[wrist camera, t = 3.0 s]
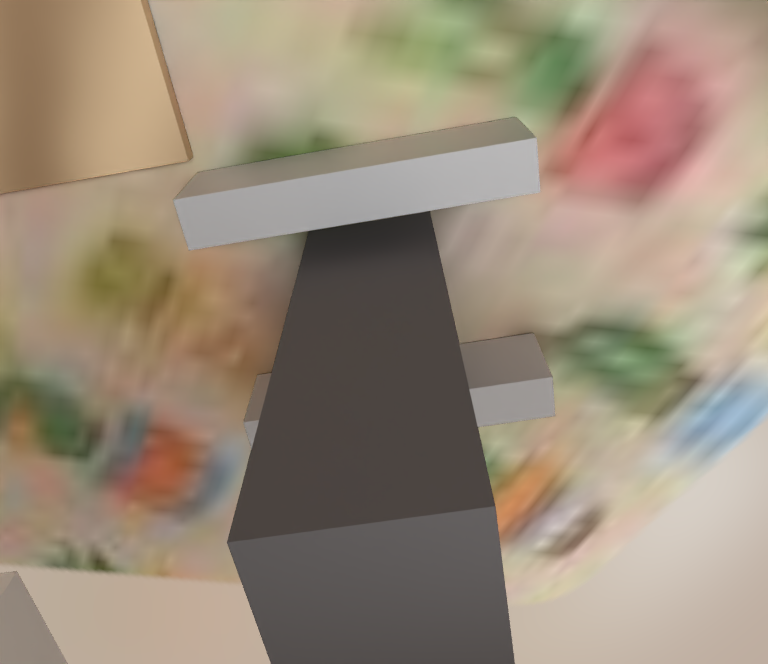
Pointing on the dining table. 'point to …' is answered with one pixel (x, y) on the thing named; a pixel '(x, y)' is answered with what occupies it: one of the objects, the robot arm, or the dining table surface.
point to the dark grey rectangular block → (371, 468)
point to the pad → (83, 93)
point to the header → (377, 201)
